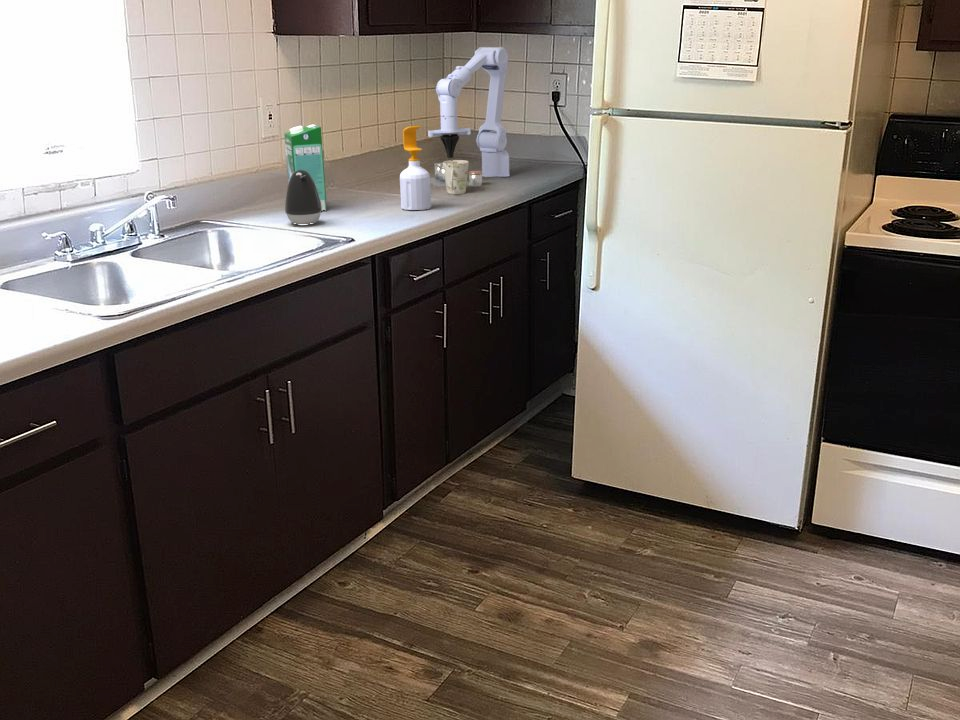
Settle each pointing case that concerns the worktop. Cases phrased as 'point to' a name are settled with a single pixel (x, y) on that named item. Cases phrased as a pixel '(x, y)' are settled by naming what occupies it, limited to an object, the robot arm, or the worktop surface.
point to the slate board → (438, 182)
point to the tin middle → (441, 174)
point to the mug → (456, 176)
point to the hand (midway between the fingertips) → (450, 157)
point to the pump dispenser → (302, 199)
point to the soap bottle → (414, 176)
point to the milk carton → (307, 156)
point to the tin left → (437, 170)
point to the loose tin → (475, 178)
